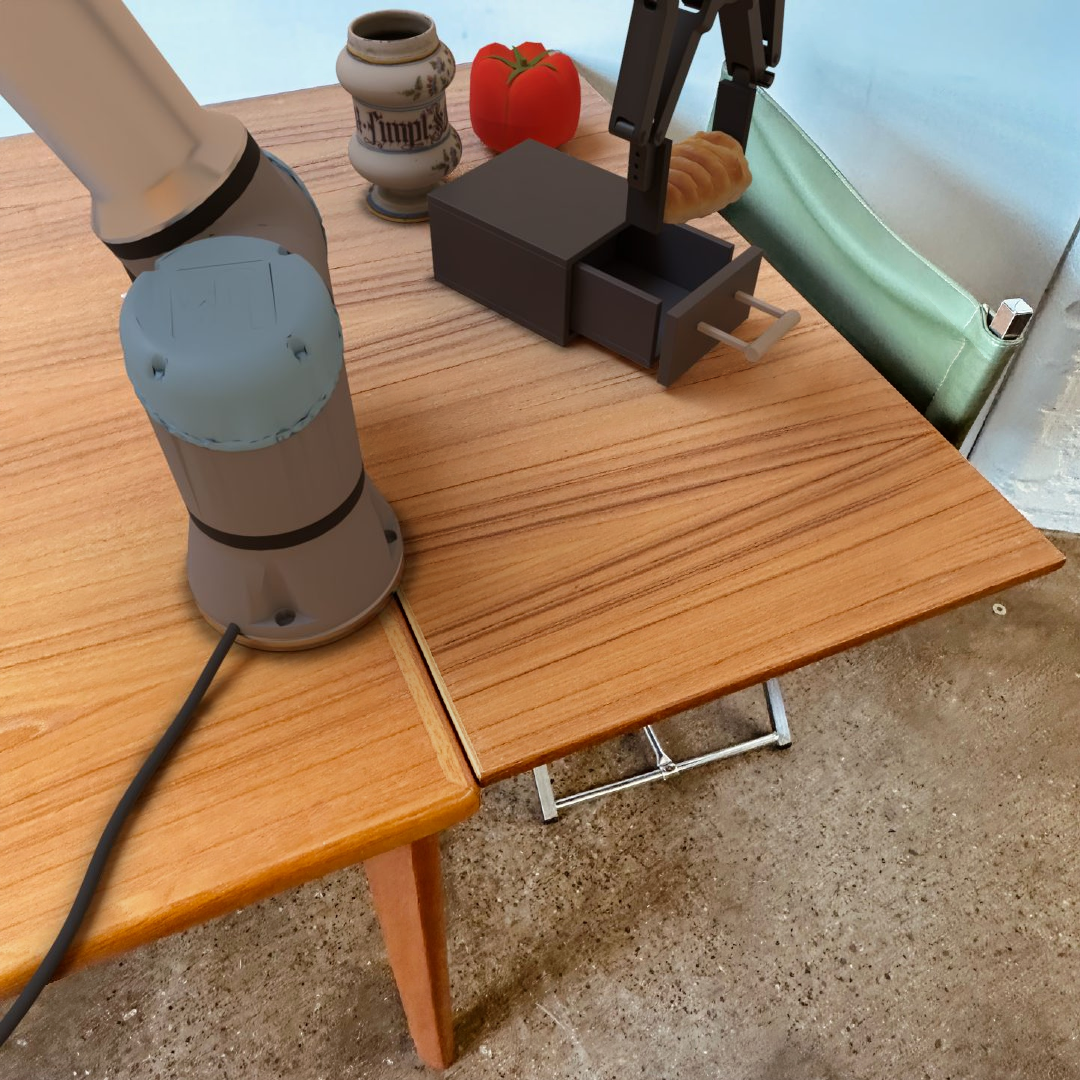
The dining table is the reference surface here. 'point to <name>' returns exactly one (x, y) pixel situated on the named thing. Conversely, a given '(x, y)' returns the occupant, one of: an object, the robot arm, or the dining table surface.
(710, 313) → the drawer
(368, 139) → the apothecary jar
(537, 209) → the cabinet
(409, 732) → the dining table surface
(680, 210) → the pastry
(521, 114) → the tomato
